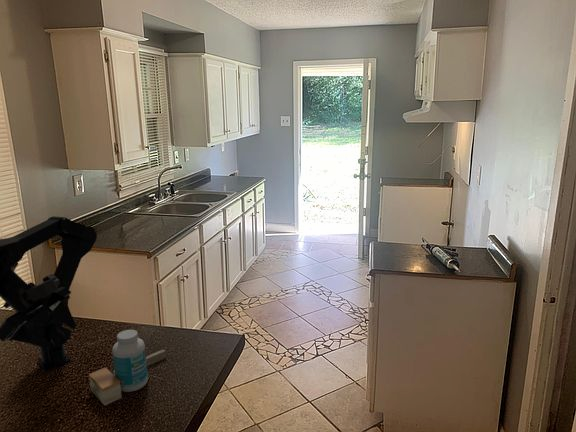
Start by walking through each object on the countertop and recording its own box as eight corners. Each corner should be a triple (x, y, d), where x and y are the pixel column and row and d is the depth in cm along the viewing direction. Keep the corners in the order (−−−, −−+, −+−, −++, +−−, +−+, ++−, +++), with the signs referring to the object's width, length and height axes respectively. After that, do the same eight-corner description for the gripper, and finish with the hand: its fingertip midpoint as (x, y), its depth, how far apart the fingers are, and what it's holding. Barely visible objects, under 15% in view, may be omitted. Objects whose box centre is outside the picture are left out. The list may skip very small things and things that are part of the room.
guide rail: (113, 377, 110) (112, 370, 109) (163, 355, 119) (163, 349, 119) (115, 379, 109) (114, 372, 109) (166, 357, 119) (165, 350, 118)
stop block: (91, 390, 105) (88, 374, 104) (107, 383, 108) (105, 367, 107) (104, 405, 99) (102, 388, 98) (121, 397, 102) (119, 381, 101)
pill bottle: (138, 395, 103) (132, 343, 100) (110, 391, 104) (103, 340, 101) (154, 376, 110) (149, 328, 107) (127, 373, 112) (121, 325, 108)
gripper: (-2, 284, 91) (53, 336, 92) (59, 255, 109) (104, 299, 110) (-27, 316, 94) (26, 366, 95) (36, 283, 112) (80, 325, 113)
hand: (62, 336), depth 103 cm, fingers open, 9 cm apart
